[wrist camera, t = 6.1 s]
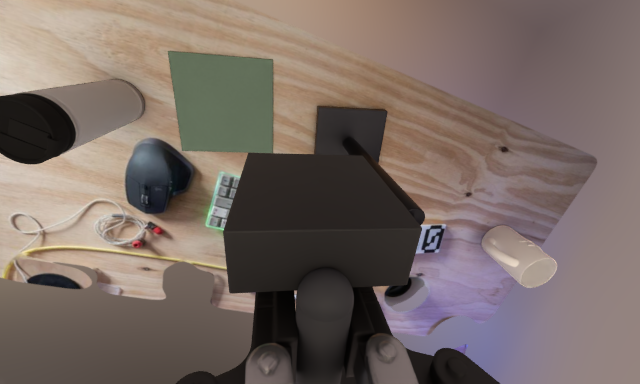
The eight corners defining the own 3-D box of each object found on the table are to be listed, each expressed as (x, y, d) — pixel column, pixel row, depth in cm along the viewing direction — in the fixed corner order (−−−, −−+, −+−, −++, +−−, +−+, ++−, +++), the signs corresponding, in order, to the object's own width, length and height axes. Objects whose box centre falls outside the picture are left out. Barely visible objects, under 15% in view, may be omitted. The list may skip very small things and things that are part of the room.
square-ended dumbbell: (248, 152, 14) (211, 265, 6) (362, 155, 15) (447, 257, 7) (256, 340, 20) (243, 508, 13) (337, 335, 21) (368, 488, 14)
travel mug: (141, 129, 44) (52, 178, 27) (95, 110, 42) (-36, 149, 24) (152, 93, 42) (63, 119, 25) (104, 70, 40) (-32, 82, 22)
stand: (287, 104, 46) (301, 156, 22) (384, 109, 49) (490, 161, 25) (286, 171, 51) (295, 272, 27) (373, 172, 54) (452, 266, 30)
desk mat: (168, 51, 40) (167, 51, 40) (272, 59, 43) (272, 59, 42) (183, 150, 47) (182, 150, 46) (272, 152, 49) (272, 153, 49)
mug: (480, 217, 63) (521, 250, 52) (519, 227, 66) (566, 260, 55) (461, 246, 66) (497, 282, 55) (500, 254, 69) (540, 290, 58)
